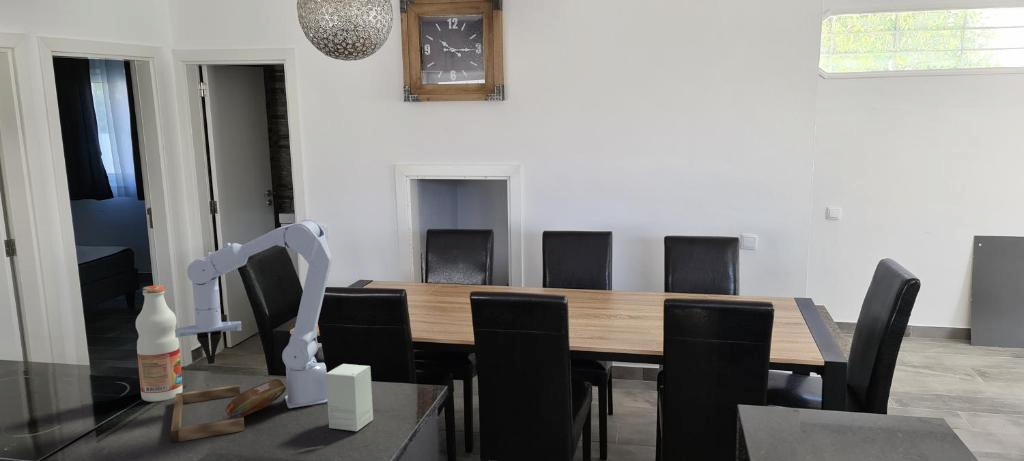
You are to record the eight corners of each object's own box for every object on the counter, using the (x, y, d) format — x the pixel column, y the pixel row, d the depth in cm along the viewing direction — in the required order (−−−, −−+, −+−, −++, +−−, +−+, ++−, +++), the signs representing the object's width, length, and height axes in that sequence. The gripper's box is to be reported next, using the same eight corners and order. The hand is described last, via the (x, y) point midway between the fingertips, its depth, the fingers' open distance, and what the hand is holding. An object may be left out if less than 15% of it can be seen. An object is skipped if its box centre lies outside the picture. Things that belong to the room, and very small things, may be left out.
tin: (223, 425, 157) (241, 405, 153) (216, 413, 157) (234, 394, 154) (276, 402, 170) (293, 384, 166) (269, 391, 171) (286, 373, 167)
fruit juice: (136, 396, 176) (126, 287, 173) (175, 386, 183) (166, 281, 179) (148, 405, 169) (138, 292, 166) (188, 395, 176) (180, 286, 173)
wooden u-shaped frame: (240, 394, 176) (239, 384, 176) (244, 430, 153) (243, 419, 153) (176, 403, 171) (175, 393, 170) (171, 442, 148) (170, 431, 147)
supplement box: (374, 419, 158) (371, 365, 157) (356, 432, 151) (354, 376, 150) (346, 415, 161) (343, 362, 159) (327, 428, 154) (324, 372, 152)
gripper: (239, 300, 173) (242, 354, 175) (174, 307, 168) (178, 362, 169) (240, 306, 167) (244, 361, 169) (173, 313, 161) (177, 370, 163)
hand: (211, 362), depth 169 cm, fingers closed
